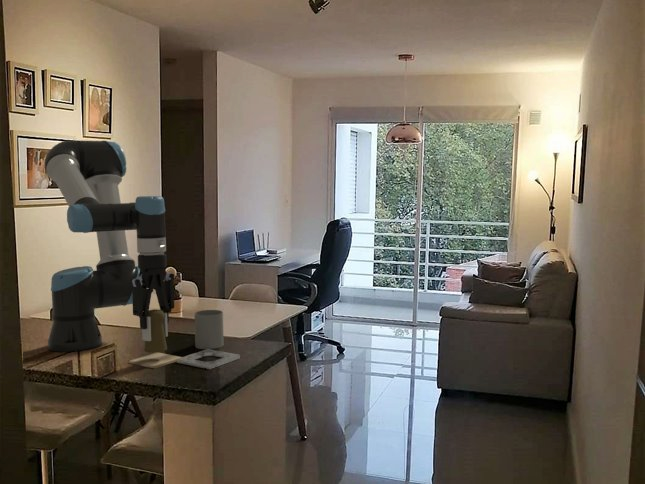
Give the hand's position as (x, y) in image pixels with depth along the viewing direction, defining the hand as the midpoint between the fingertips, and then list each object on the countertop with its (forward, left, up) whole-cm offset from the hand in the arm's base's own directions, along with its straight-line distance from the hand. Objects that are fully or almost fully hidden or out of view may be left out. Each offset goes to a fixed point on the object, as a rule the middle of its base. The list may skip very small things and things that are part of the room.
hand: (155, 337), depth 171 cm
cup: (+1, +20, -7) cm, 21 cm away
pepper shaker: (0, 0, -3) cm, 3 cm away
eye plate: (+12, +8, -6) cm, 16 cm away
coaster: (0, 0, -6) cm, 6 cm away
